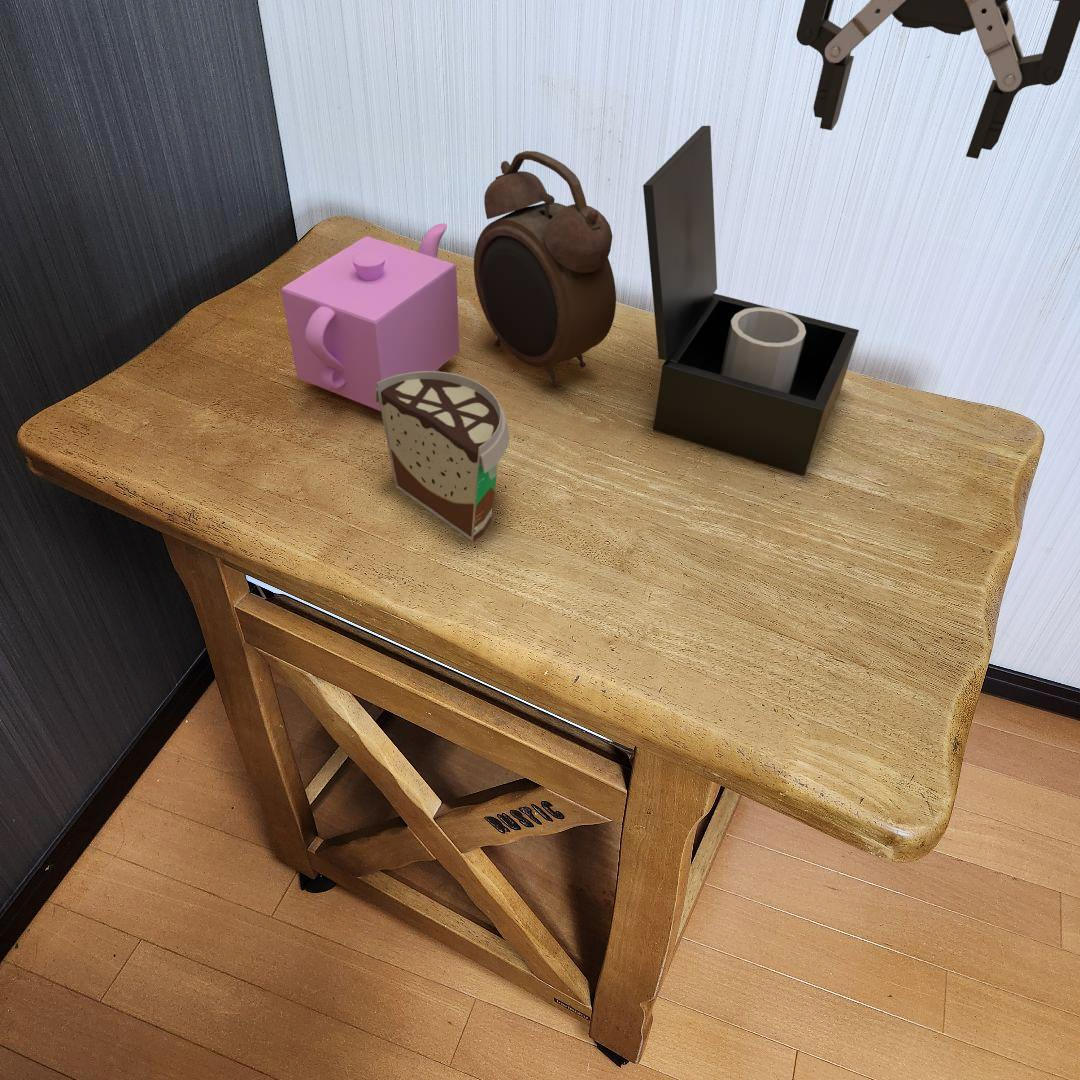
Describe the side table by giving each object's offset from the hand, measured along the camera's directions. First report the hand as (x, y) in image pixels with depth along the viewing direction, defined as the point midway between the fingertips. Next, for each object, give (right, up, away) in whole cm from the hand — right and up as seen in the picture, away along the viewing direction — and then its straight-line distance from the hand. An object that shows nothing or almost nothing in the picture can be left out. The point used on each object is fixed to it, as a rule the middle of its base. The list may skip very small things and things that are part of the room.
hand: (899, 139), depth 54 cm
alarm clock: (-22, -7, +36) cm, 42 cm away
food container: (-28, -20, +21) cm, 41 cm away
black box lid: (-9, +1, +23) cm, 25 cm away
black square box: (-2, -12, +31) cm, 33 cm away
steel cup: (-2, -11, +30) cm, 32 cm away
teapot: (-36, -8, +34) cm, 50 cm away
